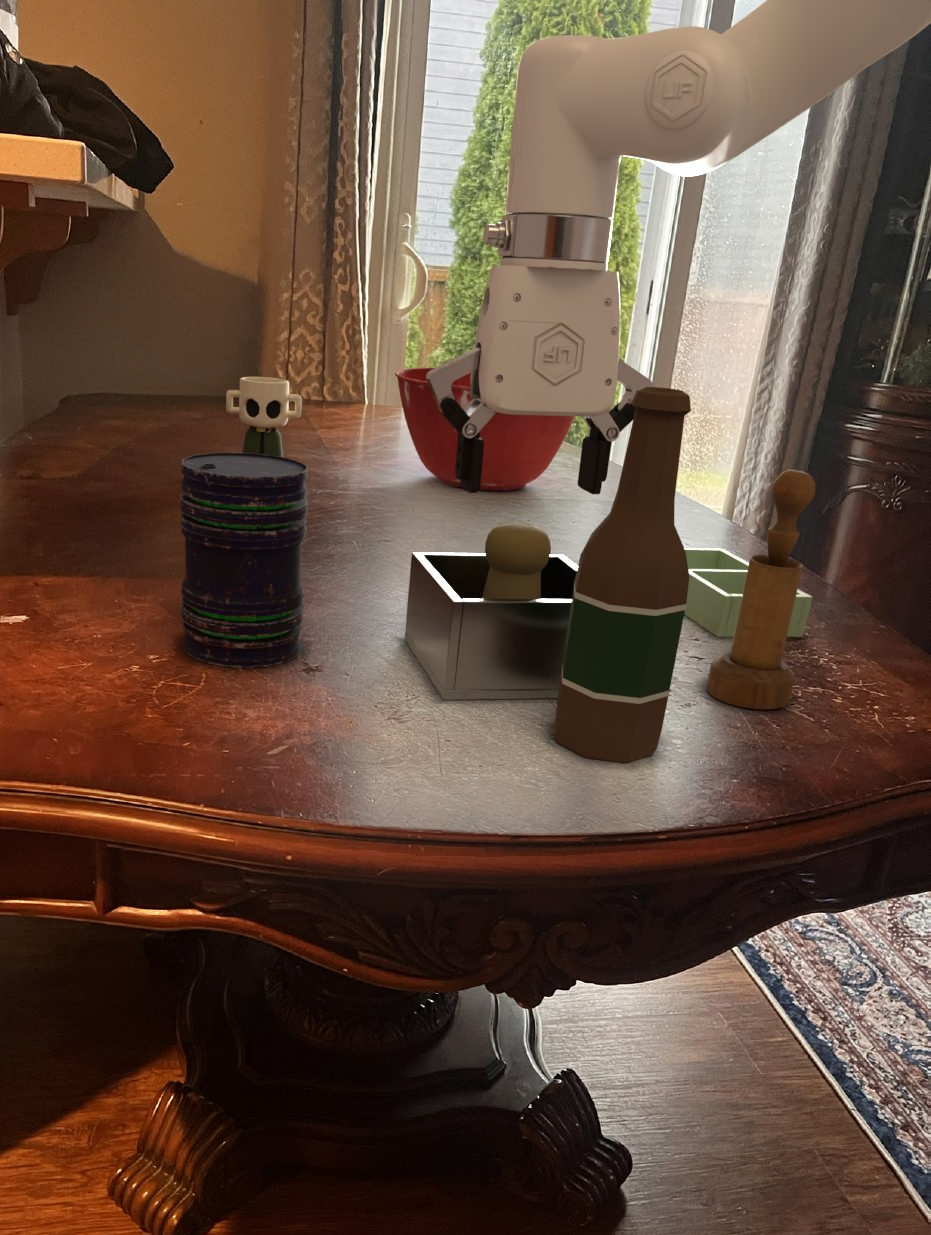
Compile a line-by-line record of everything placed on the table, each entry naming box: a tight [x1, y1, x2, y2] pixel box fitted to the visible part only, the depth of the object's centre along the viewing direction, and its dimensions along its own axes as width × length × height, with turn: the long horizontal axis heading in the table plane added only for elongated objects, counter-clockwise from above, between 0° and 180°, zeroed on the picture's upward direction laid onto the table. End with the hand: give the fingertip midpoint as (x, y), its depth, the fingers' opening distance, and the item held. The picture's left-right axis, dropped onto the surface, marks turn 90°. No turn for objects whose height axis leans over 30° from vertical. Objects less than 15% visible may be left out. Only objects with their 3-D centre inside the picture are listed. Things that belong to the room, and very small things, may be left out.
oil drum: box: [179, 452, 309, 669], centre depth 84 cm, size 10×10×15 cm
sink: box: [404, 551, 578, 701], centre depth 85 cm, size 14×14×8 cm
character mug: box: [225, 376, 303, 458], centre depth 154 cm, size 11×7×13 cm, turn 93°
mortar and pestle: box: [705, 469, 816, 711], centre depth 81 cm, size 7×6×18 cm
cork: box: [482, 523, 552, 599], centre depth 84 cm, size 6×6×11 cm
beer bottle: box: [554, 386, 692, 764], centre depth 70 cm, size 8×8×24 cm
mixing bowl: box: [394, 367, 576, 491], centre depth 158 cm, size 28×28×16 cm
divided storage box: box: [684, 547, 813, 638], centre depth 106 cm, size 9×17×4 cm, turn 12°
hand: (529, 490), depth 81 cm, fingers open, 9 cm apart
